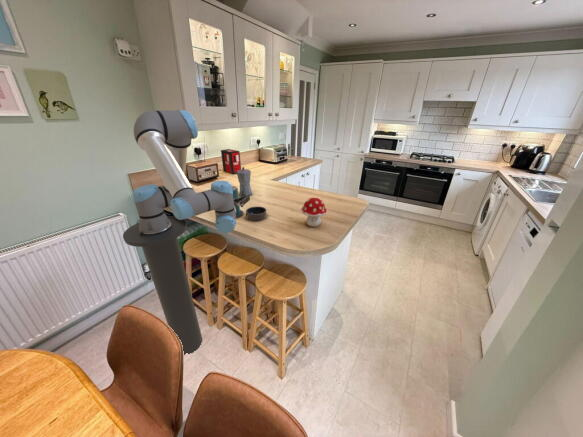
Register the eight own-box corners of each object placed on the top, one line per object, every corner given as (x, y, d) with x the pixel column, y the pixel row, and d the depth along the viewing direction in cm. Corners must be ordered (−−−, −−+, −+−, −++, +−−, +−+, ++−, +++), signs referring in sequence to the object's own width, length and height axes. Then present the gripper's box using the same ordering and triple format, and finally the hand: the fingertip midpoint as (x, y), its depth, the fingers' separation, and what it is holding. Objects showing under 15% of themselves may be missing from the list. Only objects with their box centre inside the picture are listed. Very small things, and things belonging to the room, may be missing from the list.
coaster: (232, 220, 130) (232, 218, 129) (220, 215, 136) (219, 213, 135) (247, 213, 138) (246, 212, 137) (234, 209, 144) (234, 207, 143)
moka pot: (239, 198, 160) (236, 169, 151) (237, 191, 173) (235, 164, 164) (253, 197, 162) (251, 168, 153) (250, 190, 175) (248, 163, 167)
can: (232, 217, 131) (229, 191, 124) (223, 213, 136) (220, 188, 129) (243, 212, 137) (240, 187, 130) (234, 209, 141) (231, 184, 134)
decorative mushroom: (331, 223, 126) (333, 197, 120) (316, 233, 117) (317, 205, 110) (311, 216, 135) (312, 191, 128) (295, 224, 125) (295, 198, 119)
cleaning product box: (223, 171, 225) (220, 150, 216) (231, 169, 231) (228, 149, 222) (233, 174, 215) (231, 152, 206) (241, 172, 221) (239, 151, 212)
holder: (256, 223, 127) (256, 216, 125) (242, 217, 133) (241, 211, 131) (271, 216, 135) (270, 209, 133) (256, 211, 141) (256, 204, 140)
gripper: (199, 219, 102) (205, 201, 120) (256, 215, 106) (254, 198, 125) (196, 204, 98) (203, 187, 117) (255, 200, 103) (253, 185, 121)
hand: (229, 193), depth 121 cm, fingers open, 13 cm apart
